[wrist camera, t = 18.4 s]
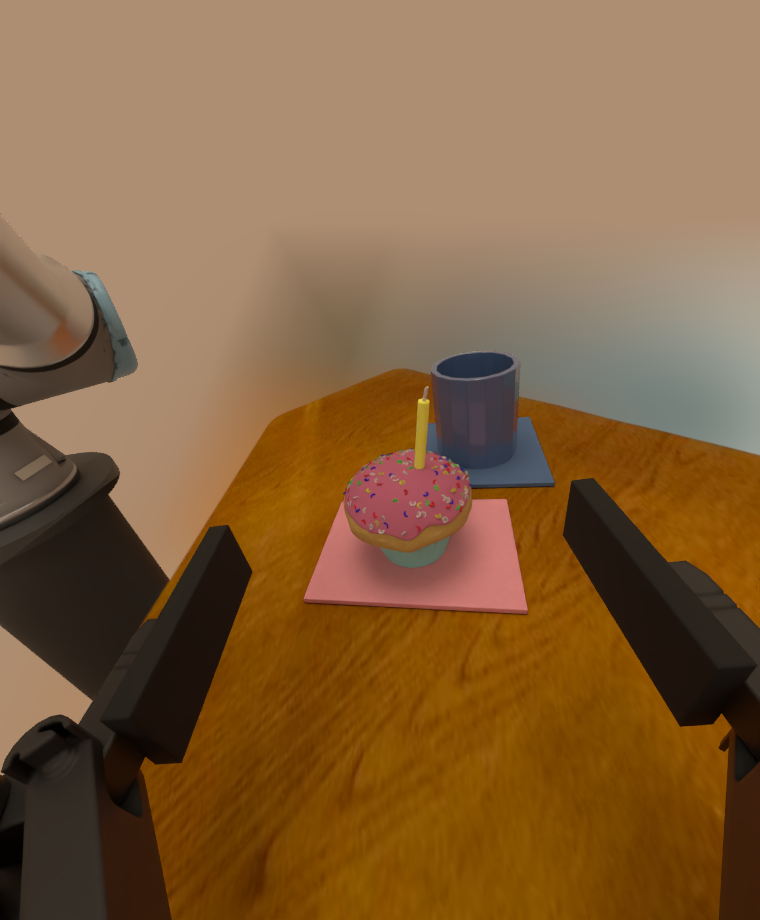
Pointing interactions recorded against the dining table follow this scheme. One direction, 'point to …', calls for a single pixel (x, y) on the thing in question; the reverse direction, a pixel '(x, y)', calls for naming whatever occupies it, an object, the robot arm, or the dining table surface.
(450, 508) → the cupcake
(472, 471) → the blue mat
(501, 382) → the blue cup
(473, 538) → the rose mat
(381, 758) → the dining table surface
